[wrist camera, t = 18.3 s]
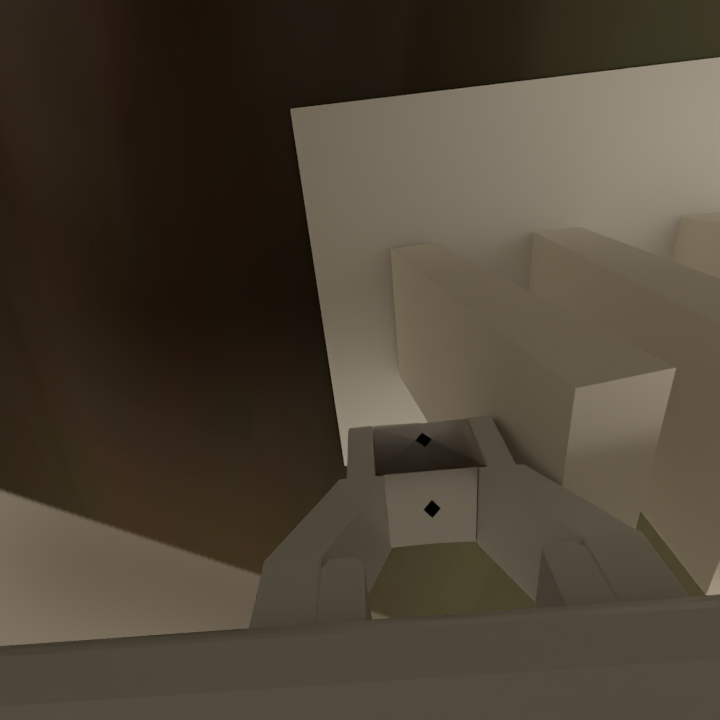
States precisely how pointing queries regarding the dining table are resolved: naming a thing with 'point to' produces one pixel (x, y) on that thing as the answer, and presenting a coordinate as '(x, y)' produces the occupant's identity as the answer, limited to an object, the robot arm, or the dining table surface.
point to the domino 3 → (699, 243)
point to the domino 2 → (669, 343)
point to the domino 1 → (530, 376)
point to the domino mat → (490, 192)
